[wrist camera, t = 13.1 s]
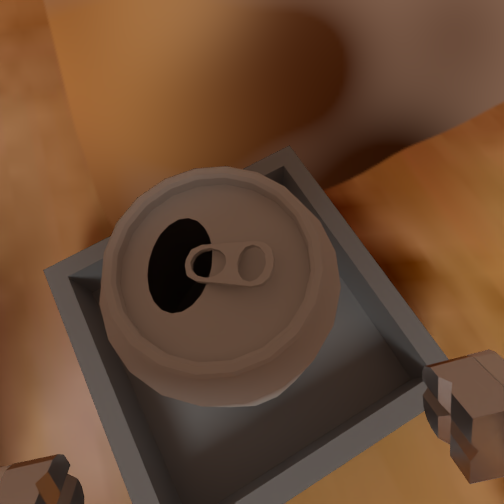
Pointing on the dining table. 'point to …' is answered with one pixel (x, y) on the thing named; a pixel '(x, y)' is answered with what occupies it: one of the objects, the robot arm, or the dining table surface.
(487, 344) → the dining table surface
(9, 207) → the dining table surface
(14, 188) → the dining table surface
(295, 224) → the can
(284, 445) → the tray
